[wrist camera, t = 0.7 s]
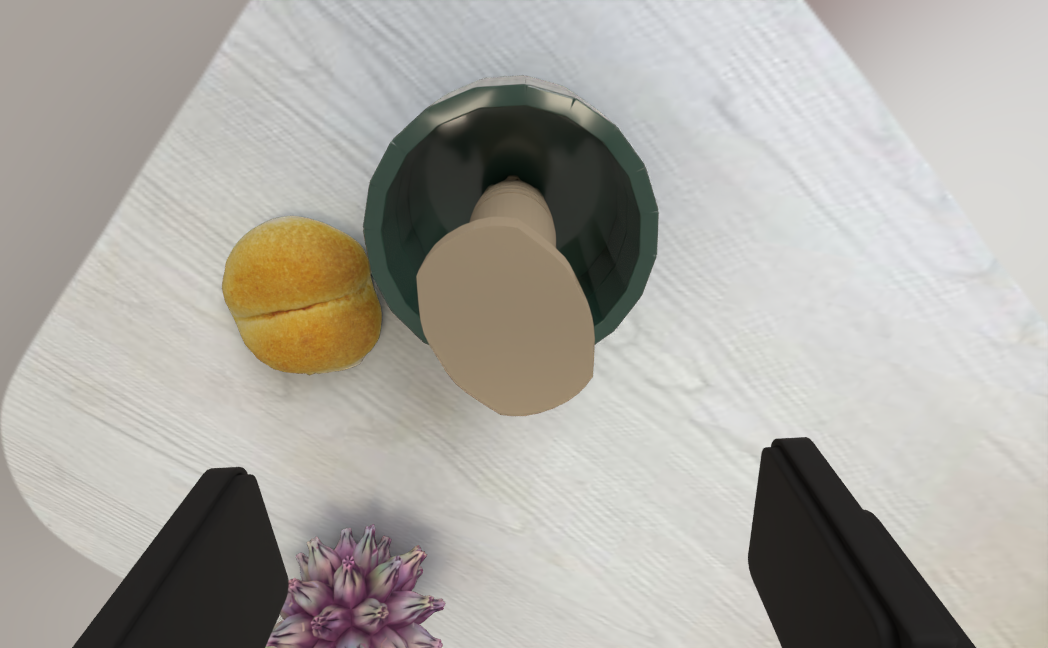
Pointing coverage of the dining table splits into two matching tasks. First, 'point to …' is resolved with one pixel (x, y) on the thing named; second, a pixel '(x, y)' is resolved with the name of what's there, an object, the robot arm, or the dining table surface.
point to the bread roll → (302, 296)
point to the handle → (507, 306)
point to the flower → (356, 598)
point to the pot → (537, 159)
